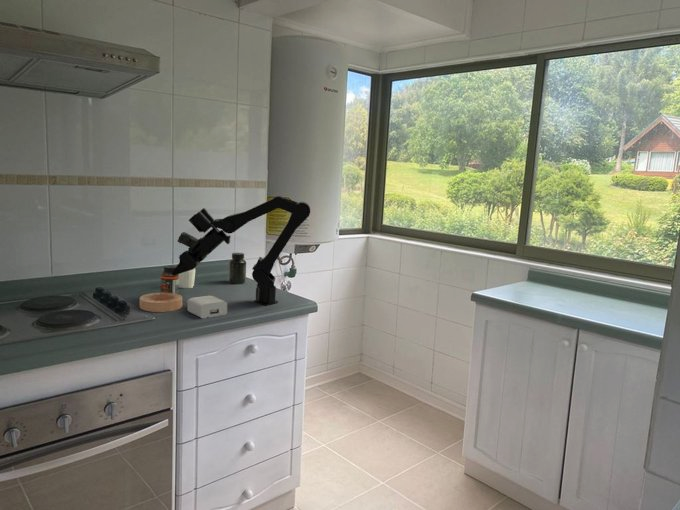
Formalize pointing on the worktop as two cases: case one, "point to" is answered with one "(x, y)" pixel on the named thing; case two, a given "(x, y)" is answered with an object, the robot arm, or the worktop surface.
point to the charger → (207, 306)
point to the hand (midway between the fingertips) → (175, 271)
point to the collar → (160, 302)
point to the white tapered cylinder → (187, 279)
